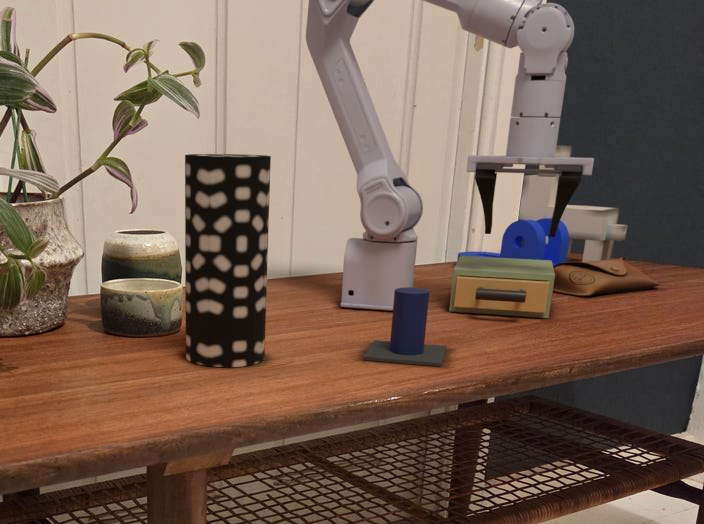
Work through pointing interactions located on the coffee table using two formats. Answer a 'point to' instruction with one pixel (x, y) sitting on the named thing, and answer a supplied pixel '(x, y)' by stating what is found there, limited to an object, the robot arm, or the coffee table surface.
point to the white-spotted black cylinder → (226, 258)
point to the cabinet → (503, 270)
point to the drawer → (501, 293)
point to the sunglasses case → (599, 277)
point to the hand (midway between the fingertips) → (519, 234)
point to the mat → (382, 353)
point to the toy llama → (572, 214)
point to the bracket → (531, 242)
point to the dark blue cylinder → (409, 321)
